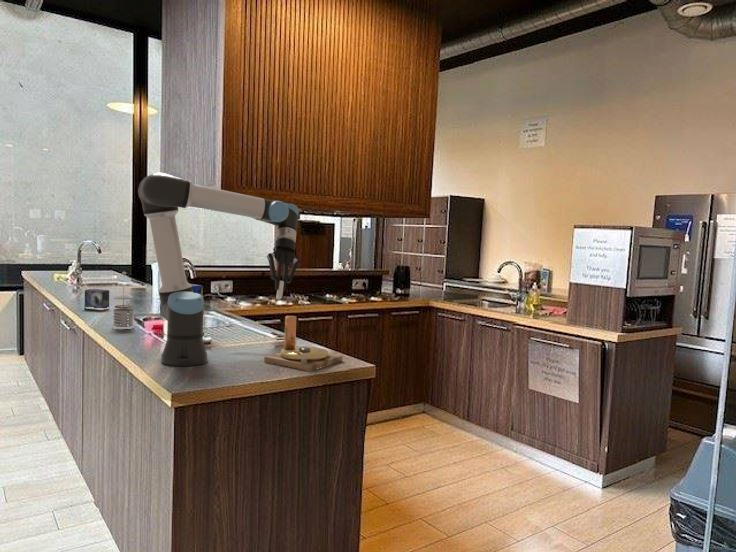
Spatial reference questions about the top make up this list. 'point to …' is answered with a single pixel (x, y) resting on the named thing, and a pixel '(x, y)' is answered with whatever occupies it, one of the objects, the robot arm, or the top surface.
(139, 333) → the top surface
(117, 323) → the french press
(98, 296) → the small box
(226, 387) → the top surface
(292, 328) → the disc
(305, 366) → the levelling stand
